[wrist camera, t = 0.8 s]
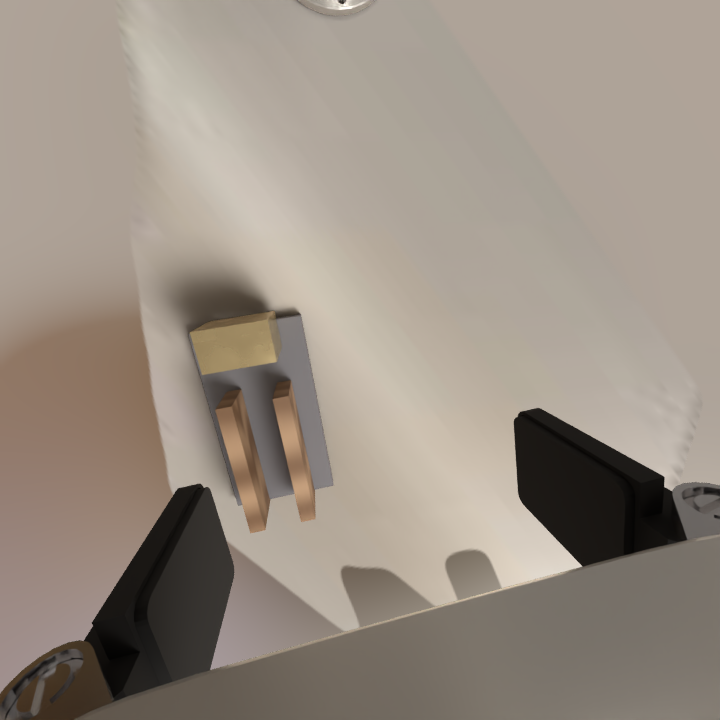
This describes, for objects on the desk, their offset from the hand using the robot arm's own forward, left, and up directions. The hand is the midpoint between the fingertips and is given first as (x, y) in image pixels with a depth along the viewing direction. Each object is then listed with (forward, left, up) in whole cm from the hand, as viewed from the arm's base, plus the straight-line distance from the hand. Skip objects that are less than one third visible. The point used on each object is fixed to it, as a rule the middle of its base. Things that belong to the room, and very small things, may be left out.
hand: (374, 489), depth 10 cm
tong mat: (+9, -9, -31) cm, 33 cm away
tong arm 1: (+13, -6, -29) cm, 32 cm away
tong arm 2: (+13, -11, -29) cm, 34 cm away
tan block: (-1, -9, -29) cm, 30 cm away
